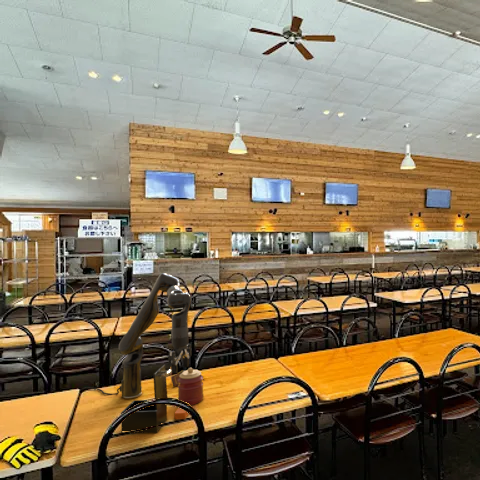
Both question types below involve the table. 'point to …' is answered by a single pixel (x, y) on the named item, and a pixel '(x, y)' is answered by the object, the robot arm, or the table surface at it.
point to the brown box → (176, 379)
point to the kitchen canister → (190, 386)
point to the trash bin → (144, 418)
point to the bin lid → (160, 384)
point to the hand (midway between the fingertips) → (180, 369)
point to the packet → (180, 414)
